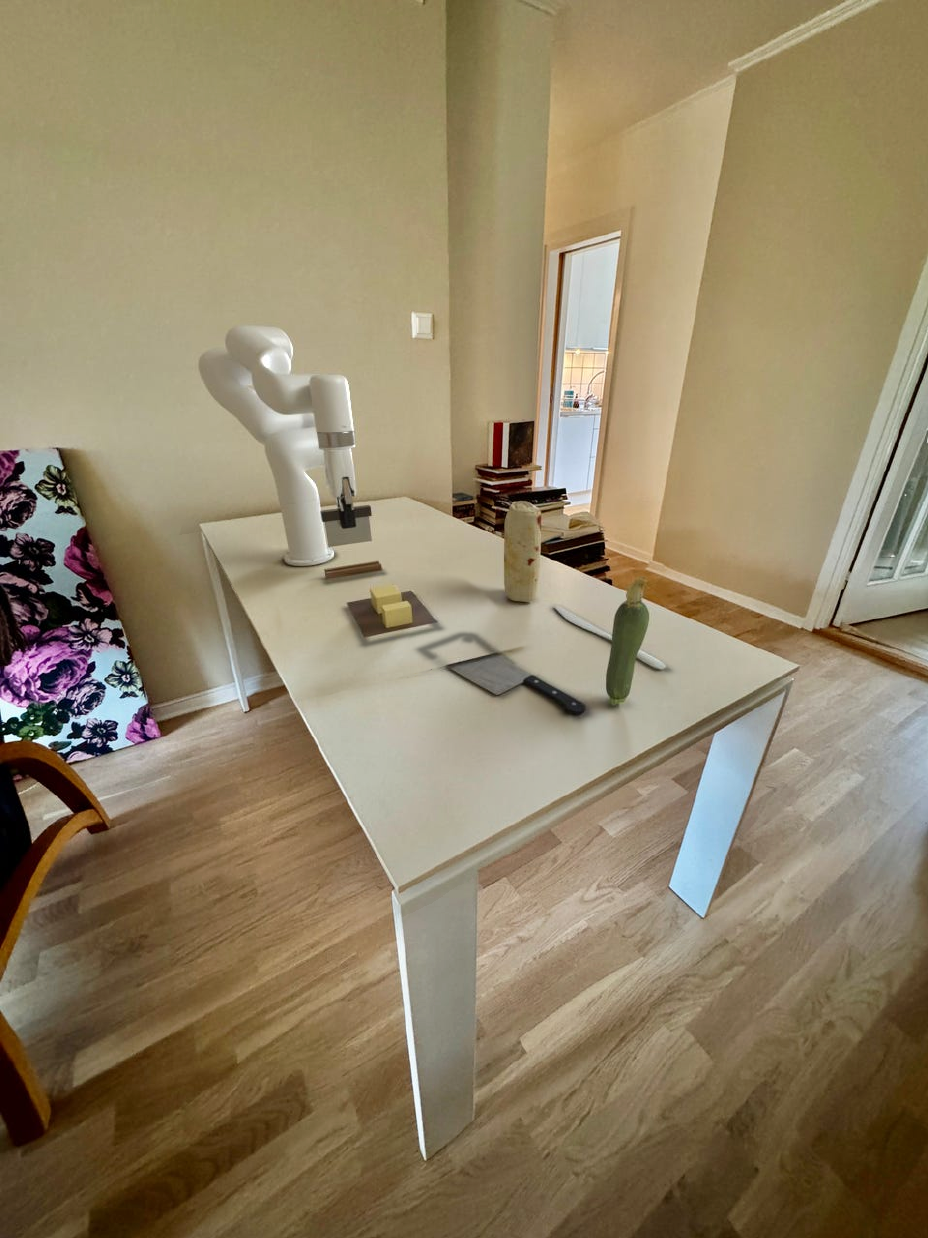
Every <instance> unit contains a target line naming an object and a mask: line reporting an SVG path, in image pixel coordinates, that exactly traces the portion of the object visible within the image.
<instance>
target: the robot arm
mask: <svg viewBox="0 0 928 1238" xmlns="http://www.w3.org/2000/svg"><path fill="white" fill-rule="evenodd" d="M224 343H225V347H218V348H217V347H216V348H212V349H207V350H206V351H204V352H203V353H202V354H201V355H200V357H199V358H198V372H199V375H200V378H201V380H202V382H203V384H204V386H205V388H206V390H207V391H208V393H209V395H210V396H211V397H212V398H213V400H214V401H216V402H217V404H219V405H220V406H221V407H222V408H223V409H224V410H226V411H227V412H229V413H230V414H231V415H232V416H233V417H235V418H236V419H237V420H238V422H239V423H240V424H241V425H242V426H243V427H244V428H245V430H246V431H248V433H249V434H250V435H251V436H252V438H254V439H255V440H256V441H257V442H258V443H259V444H261V445H263V446H264V454H265V456H266V460H267V462H268V465H269V467H270V470H271V472H272V476H273V480H274V483H275V488H276V492H277V497H278V501H279V507H280V512H281V516H282V522H283V527H284V532H285V537H286V542H287V547H288V548H287V549H288V551H287V552H286V553H285V554H284V556H283V558H284V559H283V560H284V562H285V563H286V564H288V565H290V566H295V567H307V566H308V567H310V566H315V565H320V564H323V563H327V562H329V561H331V560H332V559H333V558H334V556H335V551H334V550H333V548H332V547H328V545H327V538H326V532H325V526H324V522H322V520H321V514H320V511H322V507H321V501H320V495H319V490H318V487H317V485H316V483H315V482H314V481H313V479H311V478H310V476H309V475H308V474H307V471H310V470H316V469H321V468H324V472H325V480H326V481H325V482H326V489H327V492H328V493H329V495H330V496H331V497H332V498H333V499H335V500H336V501H335V502H336V506H337V508H336V509H338V508H340V510H341V511H339V513H340V520H341V527H342V528H343V529H347V528H354V527H356V520H355V512H354V507H355V506H354V501H353V500H354V499H353V498H354V497H356V495H357V483H356V476H355V475H356V473H355V468H354V462H353V455H352V454H353V453H352V449H354V448H356V441H355V433H354V432H355V431H354V424H353V423H354V422H353V415H352V407H351V399H350V389H349V384H348V379H347V378H346V376H344V375H342V374H336V373H335V374H334V373H333V374H330V373H329V374H323V373H291V369H292V364H291V361H292V359H293V355H294V351H293V350H294V349H293V344H292V342H291V339H290V337H289V336H288V335H287V333H286V332H285V331H284V330H282V328H279V327H277V326H271V325H251V324H242V325H241V324H240V325H236V326H233V327H232V328H230V329H229V330H228V331H227V333H226V335H225V339H224ZM249 386H253V388H251V387H249Z"/></svg>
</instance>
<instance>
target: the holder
mask: <svg viewBox="0 0 928 1238" xmlns="http://www.w3.org/2000/svg"><path fill="white" fill-rule="evenodd" d="M382 567H383V566H382V563H380V561H379V560H373V561H368V562H367V561H366V562H361V563H354V564H348V565H342V566H336V567H329V568H324V569H323V571H324V577H325V580H331V579H337V578H341V577H349V576H355V575H361V574H367V573H373V572H379V571H383V568H382Z"/></svg>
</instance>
